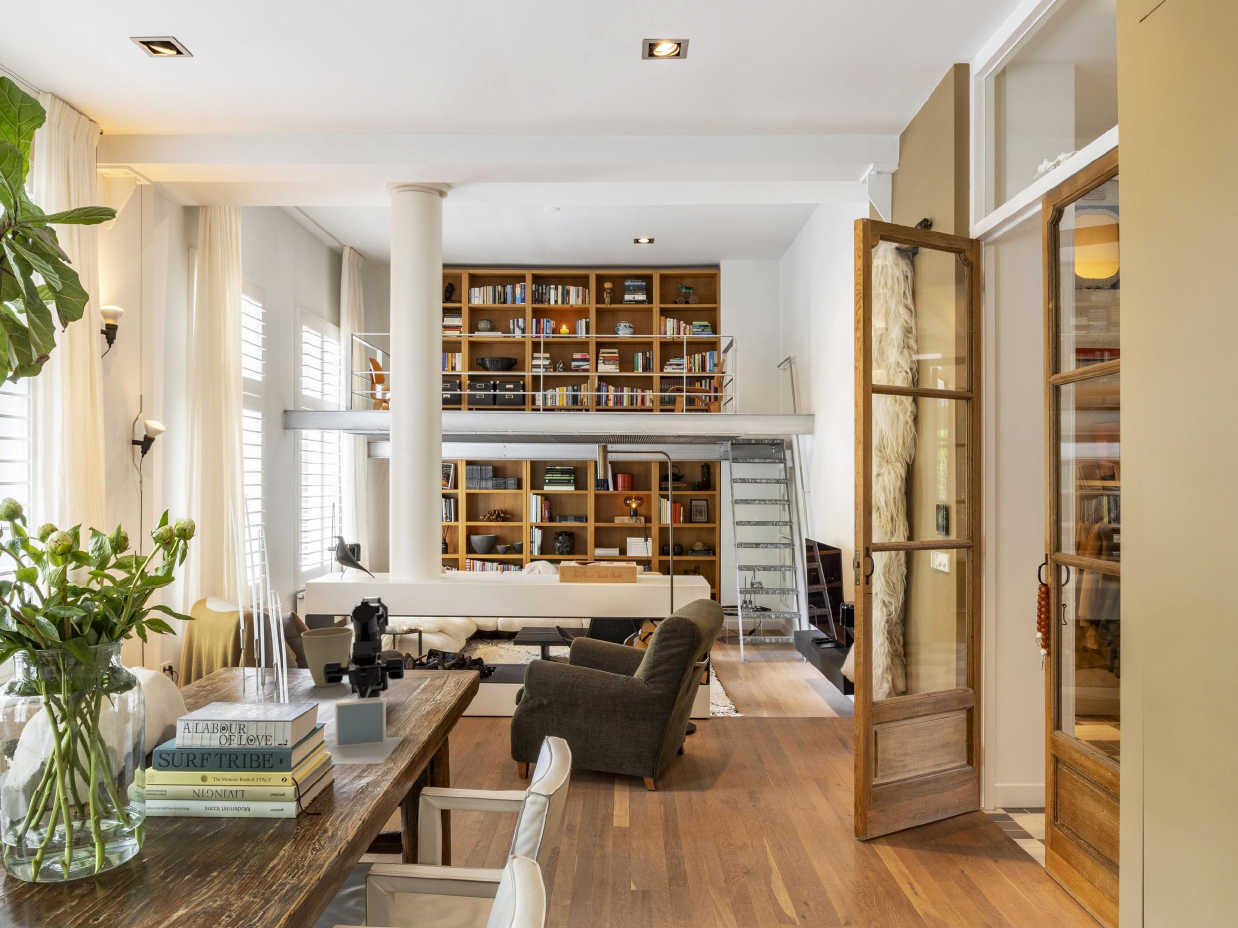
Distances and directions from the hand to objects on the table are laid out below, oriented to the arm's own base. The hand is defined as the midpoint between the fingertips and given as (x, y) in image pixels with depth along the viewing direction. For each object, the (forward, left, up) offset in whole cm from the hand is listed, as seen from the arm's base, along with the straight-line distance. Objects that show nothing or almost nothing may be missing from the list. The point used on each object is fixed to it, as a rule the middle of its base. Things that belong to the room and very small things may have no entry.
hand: (363, 701), depth 198 cm
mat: (+10, +2, -9) cm, 14 cm away
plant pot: (-53, -28, -9) cm, 60 cm away
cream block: (+5, +1, -8) cm, 10 cm away
